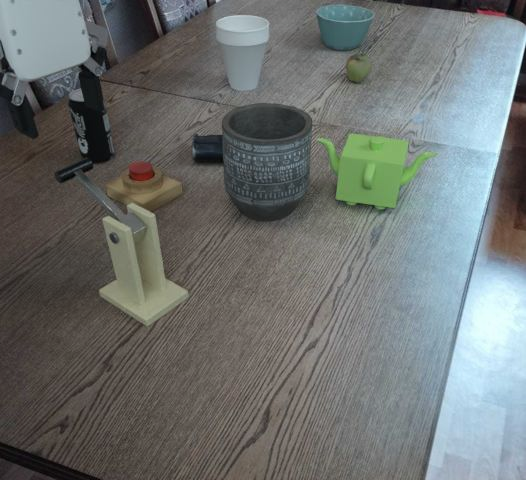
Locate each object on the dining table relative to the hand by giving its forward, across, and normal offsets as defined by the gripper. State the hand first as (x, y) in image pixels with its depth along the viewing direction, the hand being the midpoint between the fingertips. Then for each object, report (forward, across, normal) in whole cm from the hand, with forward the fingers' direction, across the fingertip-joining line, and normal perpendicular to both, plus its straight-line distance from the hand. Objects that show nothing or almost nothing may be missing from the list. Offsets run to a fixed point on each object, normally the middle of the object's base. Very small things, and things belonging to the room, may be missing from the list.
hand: (63, 121), depth 67 cm
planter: (+23, -30, +8) cm, 38 cm away
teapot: (+23, -44, +20) cm, 53 cm away
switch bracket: (+23, 0, +10) cm, 25 cm away
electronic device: (+23, -40, -9) cm, 47 cm away
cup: (+23, -69, -31) cm, 79 cm away
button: (+19, -19, -11) cm, 29 cm away
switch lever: (+10, 0, +5) cm, 11 cm away
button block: (+23, -19, -11) cm, 31 cm away
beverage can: (+23, -23, -29) cm, 43 cm away
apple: (+23, -90, -12) cm, 93 cm away
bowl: (+23, -109, -29) cm, 115 cm away
